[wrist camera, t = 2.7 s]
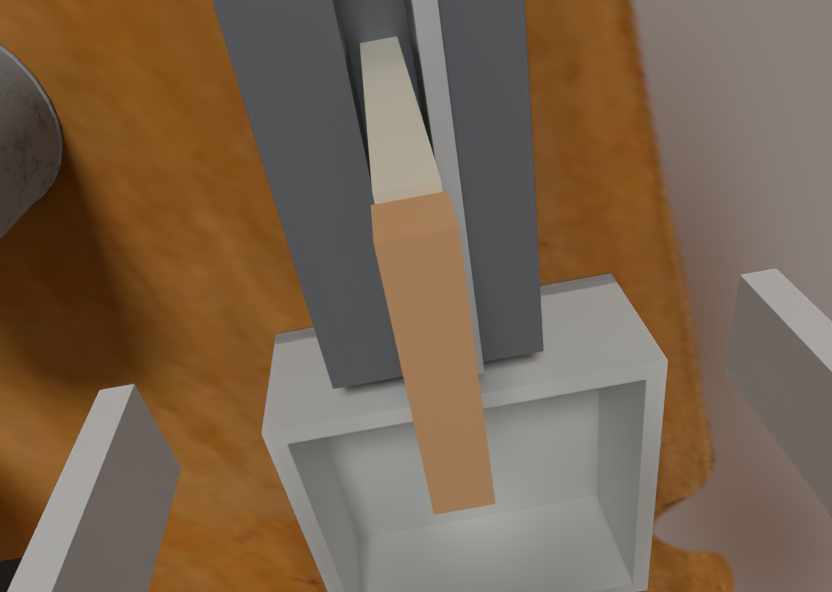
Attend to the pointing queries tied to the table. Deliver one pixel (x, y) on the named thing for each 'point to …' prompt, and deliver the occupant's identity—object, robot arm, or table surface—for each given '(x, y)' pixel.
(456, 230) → the cream flat board
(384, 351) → the dispenser
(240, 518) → the table surface
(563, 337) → the bin
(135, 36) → the table surface
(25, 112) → the grey cylinder
